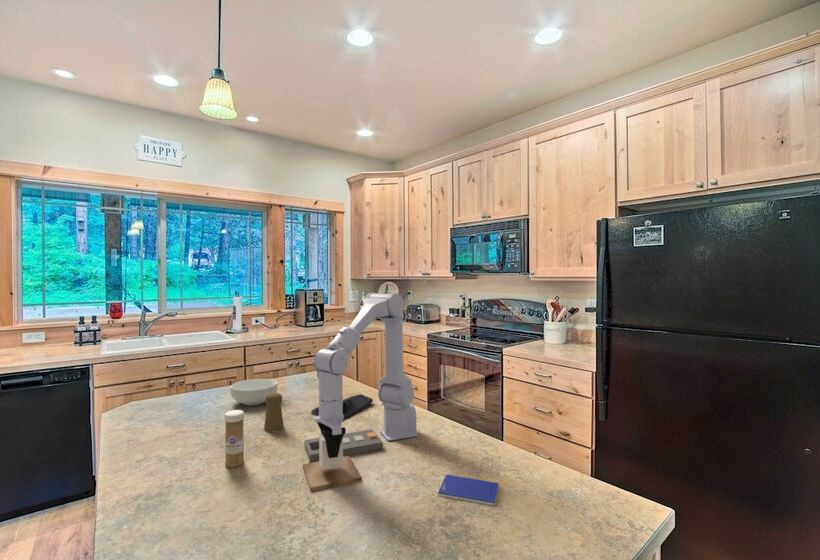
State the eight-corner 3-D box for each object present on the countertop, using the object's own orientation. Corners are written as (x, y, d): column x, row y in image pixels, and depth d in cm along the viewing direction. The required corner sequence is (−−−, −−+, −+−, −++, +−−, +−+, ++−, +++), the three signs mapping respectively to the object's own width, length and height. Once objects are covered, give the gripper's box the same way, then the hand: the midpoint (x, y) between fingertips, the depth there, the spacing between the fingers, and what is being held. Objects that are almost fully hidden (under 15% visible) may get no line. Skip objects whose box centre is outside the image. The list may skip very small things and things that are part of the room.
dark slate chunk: (379, 406, 149) (379, 393, 149) (337, 424, 132) (336, 410, 131) (349, 398, 158) (349, 386, 158) (306, 415, 140) (305, 401, 140)
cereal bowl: (268, 409, 145) (267, 390, 144) (222, 409, 145) (222, 390, 145) (283, 395, 162) (283, 378, 161) (242, 395, 162) (242, 378, 162)
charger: (339, 459, 101) (339, 427, 101) (343, 466, 97) (342, 433, 97) (319, 462, 99) (319, 430, 99) (322, 470, 96) (322, 437, 95)
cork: (277, 432, 124) (277, 397, 124) (260, 431, 125) (259, 396, 125) (287, 425, 130) (287, 391, 130) (270, 424, 131) (270, 390, 131)
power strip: (372, 435, 121) (372, 427, 121) (382, 449, 112) (382, 440, 112) (304, 447, 113) (304, 438, 113) (309, 462, 104) (309, 452, 104)
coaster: (349, 458, 106) (349, 455, 106) (361, 480, 95) (361, 477, 95) (303, 467, 102) (302, 464, 102) (310, 491, 91) (310, 487, 91)
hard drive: (438, 491, 89) (494, 501, 85) (446, 473, 96) (498, 481, 93) (438, 498, 89) (494, 508, 85) (446, 479, 96) (498, 488, 93)
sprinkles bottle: (225, 469, 101) (224, 416, 101) (225, 461, 105) (224, 410, 105) (244, 465, 103) (244, 413, 102) (244, 458, 107) (243, 408, 107)
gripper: (309, 391, 103) (310, 444, 103) (319, 409, 90) (319, 469, 90) (336, 388, 106) (337, 439, 106) (350, 405, 93) (350, 463, 93)
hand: (331, 453), depth 98 cm, fingers closed on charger, 4 cm apart
